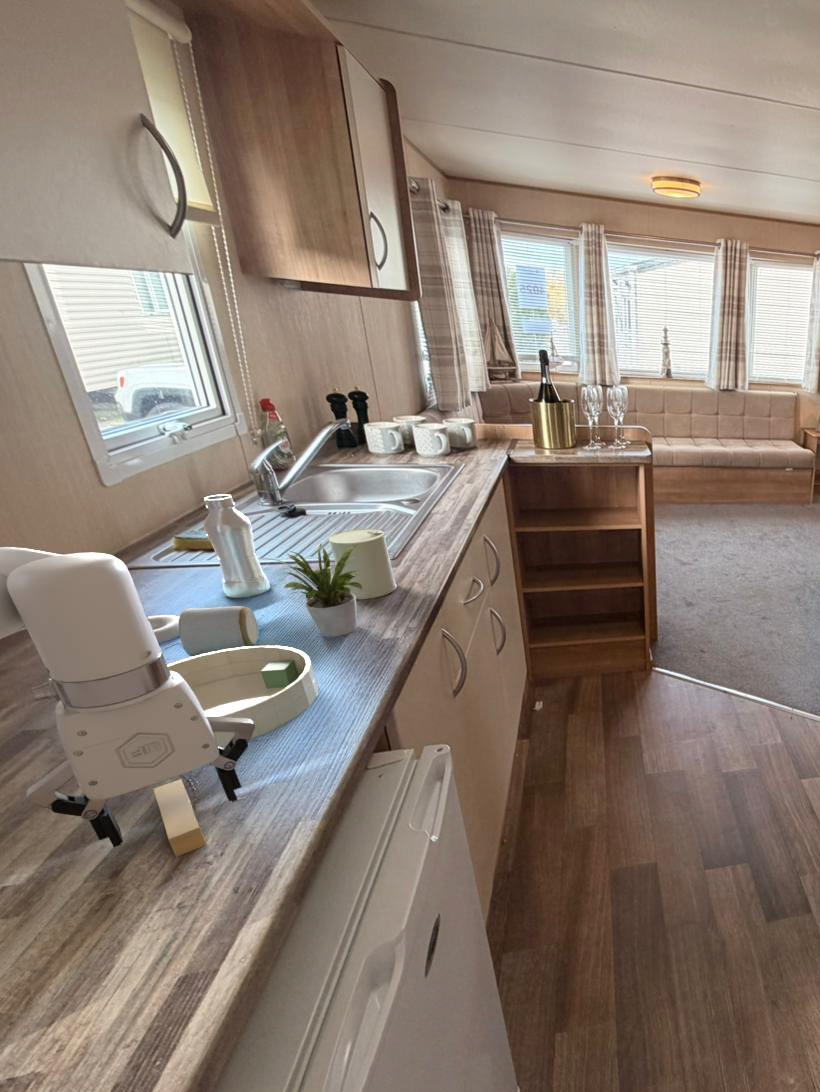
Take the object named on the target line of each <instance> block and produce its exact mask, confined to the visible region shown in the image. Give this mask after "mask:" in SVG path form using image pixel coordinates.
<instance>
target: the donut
mask: <svg viewBox="0 0 820 1092" xmlns="http://www.w3.org/2000/svg"><path fill="white" fill-rule="evenodd" d="M147 617H148V619H149V622H150V624H151V627H152V629H153V632H154V634H155V637H156V639H157V642H158V644H161V643H164V642H167V641H171V640H173V639H177V638H178V637H180V635H179V618H180V615H175V614H165V615H164V614H159V615H152V616H147ZM178 644H181V641H178V642H177V643H174V644H172V645H170V646H167V647H166V649H168V648H171V647H174V646H176V645H178Z"/></svg>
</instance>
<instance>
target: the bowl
mask: <svg viewBox="0 0 820 1092" xmlns="http://www.w3.org/2000/svg"><path fill="white" fill-rule="evenodd" d="M282 660H294V662H295V665H296V668H297V671H298V674H299V677H298V678H297V680H295V681H294V682H293V683H291V684H290V685H289V686H287V687H282V688H269V689H267V688H266V685H265V682H264V679H263V676H262V673H261V670H262V669H263V668H264V667H266V666H267V665H268V664H269V663H270V662H271V661H282ZM167 666H168V669H169V671H173V672H176V673H178V674H180V676H181V677H182V678H183V679H184V680H185V681H186V683H187V684H188V685H189V687H190V688H191V690H192V691H193V693H194V694H195V696H196V698H197V699H198V701H199V703H200V705H201V707H202V709H203V711H204V713H205V715H206V716H210V717H228V718H245V719H251V720H252V721H253V723H254V724H255V729H254V731H253V734H252V736H251V739H250V740H253V739H256V738H258V737H260V736H264V735H265V734H268V733H270V732H272V731H274V730H276V729H278V728H280V727H282V726H284V725H286V724H288V723H289V722H291V721H292V720H294V719H295V718H297V717H298V716H300V715H301V714H302V713H304V712H305V711H306V710H307V709H308V708H309V707H310V706H311V705H312V704H313V703H314V701H316V698H317V697H318V695H319V690H320V687H319V684H318V681H317V677H316V674H315V669H314V668H313V664H312V661H311V657H310V655H308V654H306V652H304V651H302V650H300V649H297V648H295V647H289V646H284V645H254V646H248V647H239V648H232V649H225V650H220V651H215V652H211V653H206V654H202V655H198V656H195V657H192V656H190V657H188V658H184V659H180V660H178V661H175V662H172V663H169V664H167ZM213 733H214V735H215V738H216V741H217V744H218V746H219V747H222V748H225V747H226V746H227V745H228V743H229V742H230V741H231V739H232V738H233V737H234V734H235V733H234V732H214V731H213Z"/></svg>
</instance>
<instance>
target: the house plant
mask: <svg viewBox="0 0 820 1092" xmlns="http://www.w3.org/2000/svg"><path fill="white" fill-rule="evenodd" d="M322 543H323V542H321V543H320V544H319V546H318V551H317V558H318V559H317V560H318V567H319V569H317V570H315V571H314V570H313V569H312V567H311V565H310V564H309V562H308V561H307V560H306V559H305V558H304V556H302V555H301V554H300V553H297V552H295V551H291V550H290V551H289V552H290V553H293V554H295V555H296V556H295V555H293V554H290V553H287V556H288V557H289V558H290V559H291V560H293V561H294V562H295V563H296V565H298V566H299V567H298V566H291V565H290V564H288V563H287V562H285V561H283V560H279V559H276V558H269V560H271V561H275V562H276V561H277V562H279V563H282V564H284V565H286V566H288V567H285V568H281V569H280V571H283V570H286V569H288V568H289V569H292V570H294V571H295V572H296V573H298V574H299V575H297V574H296V573H292V572H286V574H287V575H291V576H293V577H294V578H296V579H298V580H299V581H300V582H302V583H300V582H297V581H296V582H295V581H291V582H288V583H286V584H285V585H284V586H283V589H288V588H289V590H288V592H289V591H294V592H291V593H290V595H292V594H295V593H297V591H295V590H304V591H300V593H301V594H304V595H305V598H306V602H305V607H306V609H307V611H308V613H309V614H310V616H311V618H312V620H313V622H314V624H315V626H316V628H317V630H318V632H319V633H320V636H323V637H327V638H330V637H331V638H332V637H339V636H344V635H345V636H346V635H348V634H350V633H353V632H354V631H356V630H357V628H358V614H357V613H358V612H357V599H356V596H355V595H354V594H353V593H350V588H348V587H347V585H350V586H354V587H357V588H359V589H361V590H362V586H361V584H359V583H357V582H350V583H349V581H350V580H351V579H352V578H354V577H356V576H355V575H358V574H350V573H353V572H356V571H360V570H356V571H351V572H347V573H344V574H341V572H342V570H343V568H344V567H345V565H346V564H347V563H348V562H349V561H350V560H349V561H348V562H347V563H346V564H345V562H346V561H347V559H348V558H349V556H350V553H351V551H352V550H353V549H354V548H355V547H356V546H357V545H358V544H356V545H354V546H352V547H350V548H349V549H348V550H347V551H346V552H345V553H344V554H343V556H342V557H341V559H340V560H339V562H338V563H337V565H336V564H335V567H334V568H333V567H332V566H331V561H330V560H331V559H330V557H331V556H332V555H333V553H334V552H335V551H336V550H337V549H336V550H335V551H334V552H331V553H330V554H328V551H327V550H326V549H325V548H324V547H322ZM321 549H322V554H321ZM321 555H322V556H321ZM297 556H298V557H299V558H300V559H299V558H298V557H297ZM356 557H358V556H356ZM354 558H355V557H354ZM352 559H353V558H352ZM261 560H268V558H264V557H263V558H261ZM322 560H323V565H324V566H322ZM344 564H345V565H344ZM331 569H332V570H333V569H334V572H333V575H332V573H331V572H332V571H331ZM283 574H285V572H282V573H279V574H278V576H279V575H283ZM340 574H341V575H340ZM301 576H302V577H303V578H305V579H306V580H307V581H308V582H310V584H309V583H308V582H307V581H306V580H305V579H303V578H302V577H301ZM331 576H332V577H331ZM311 584H312V585H313V586H314V587H315V588H313V586H312V585H311ZM290 588H291V589H290ZM305 591H306V592H305Z"/></svg>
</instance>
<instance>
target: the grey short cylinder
mask: <svg viewBox="0 0 820 1092" xmlns="http://www.w3.org/2000/svg"><path fill="white" fill-rule="evenodd" d="M179 616H180V618H179V635H180V636H179V639H180V644H181V646H182V649H183V651H185V653H186V654H187V655H188V656H189V657H195V656H198V655H202V654H206V653H211V652H215V651H220V650H225V649H232V648H239V647H248V646H256V644H257V643H258V639H259V627H258V622H257V618H256V616H255V612H253V610H252V609H250V608H249V607H247V606H240V605H239V606H238V605H232V606H217V607H195V608H186V609H183V610H182V612H181V613H180V615H179Z"/></svg>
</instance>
